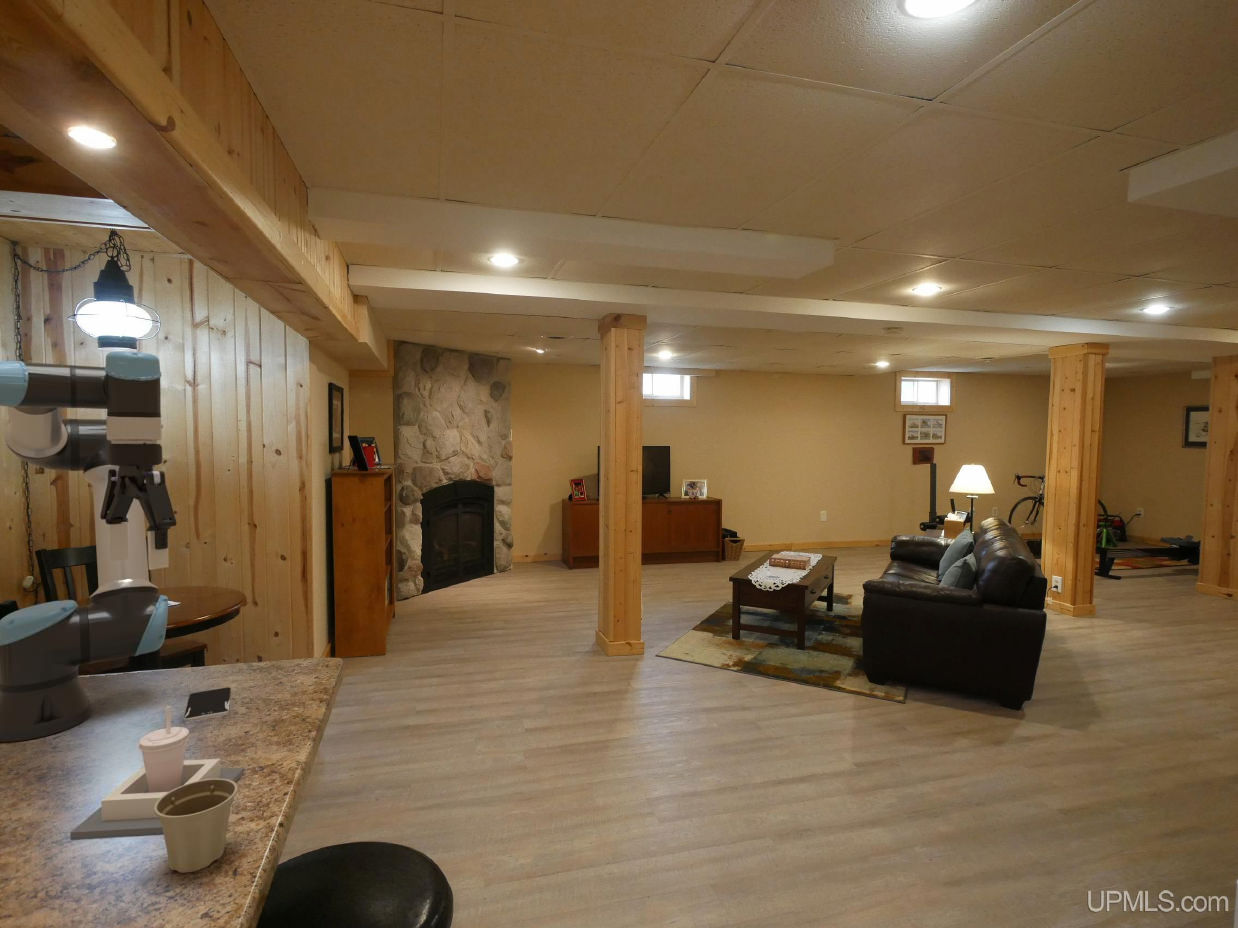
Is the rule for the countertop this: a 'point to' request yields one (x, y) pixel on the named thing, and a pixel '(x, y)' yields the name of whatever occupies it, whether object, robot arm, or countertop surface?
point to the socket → (143, 802)
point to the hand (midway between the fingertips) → (138, 564)
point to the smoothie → (164, 756)
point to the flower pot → (196, 822)
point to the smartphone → (207, 704)
